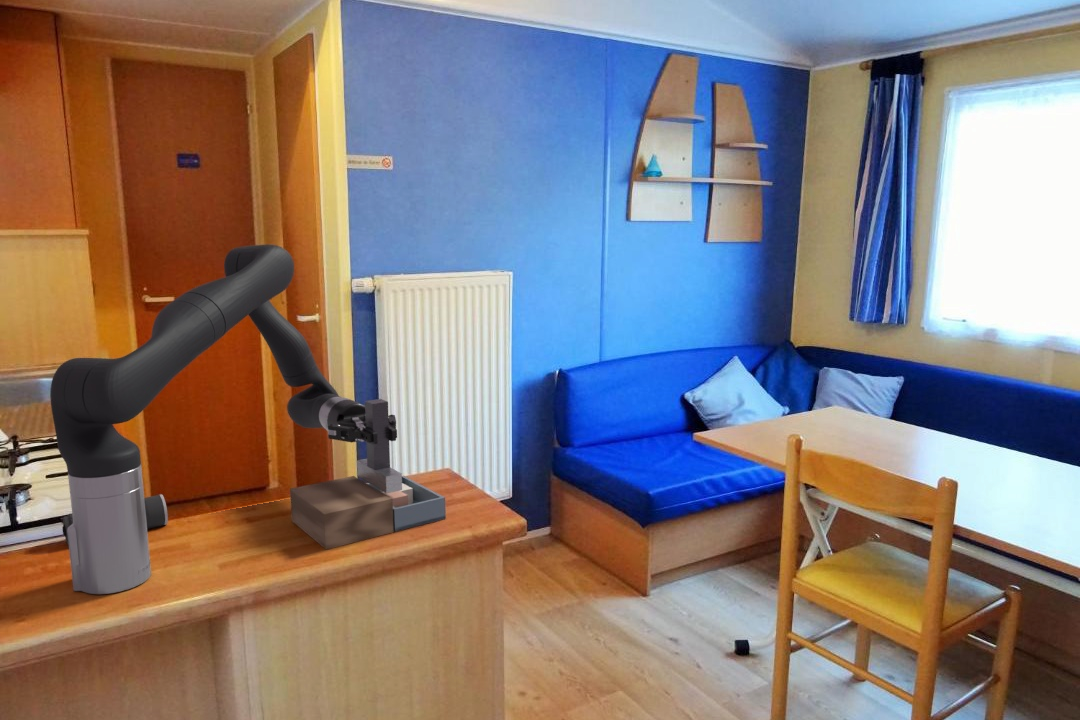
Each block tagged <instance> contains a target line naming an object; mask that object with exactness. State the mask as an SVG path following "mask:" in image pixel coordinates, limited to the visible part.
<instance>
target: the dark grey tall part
mask: <svg viewBox="0 0 1080 720" xmlns="http://www.w3.org/2000/svg"><path fill="white" fill-rule="evenodd" d="M364 405H365V418H366V428H369V429H371V430H373V431H376V432H377V441H378V442H377V444H374V445H373V444H371V443H369V442H366V441H365V443H366V458H363V459H357V460H356V475H357V478H358V477H359V479H362V481H364V482H366V483H370V484H372V485H373V486H375V487H377V488H378V489H380V490H382V491H383V492H385V493H391V492H395V491H400V490H402V476H403V473H401V472H400V471H398V470H396V469H395V468H392V467H391V458H390V457H391V454H390V451H391V450H390V440H389V418H388V416H389V401H387V400H385V399H381V398H379V399H378V398H377V399H371V400H364Z"/></svg>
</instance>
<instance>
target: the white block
mask: <svg viewBox="0 0 1080 720" xmlns="http://www.w3.org/2000/svg"><path fill="white" fill-rule="evenodd" d="M400 491H401V492H403V493H405V494H407V495H408V505H410V504H413V488H411V487H409V486H407V485H405V484H403V483H402V490H400ZM381 492H383V491H382V490H381Z"/></svg>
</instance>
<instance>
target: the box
mask: <svg viewBox="0 0 1080 720" xmlns="http://www.w3.org/2000/svg"><path fill="white" fill-rule="evenodd" d="M366 483H367V484H368V485H370V486H372V487H373V488H375V489H377V490H378V491H380V492H381V490H380V489H378V488H377V487H375V486H373V485H372V484H370V483H368V482H366ZM402 483H403V484H405V485H407V486H409V487H411V488H413V504H410V505H406V506H402V507H397V508H395V507H394V506H393V531H394V532H399V531H403V530H404V531H405V530H407V529H412V528H415V527H419V526H422V525H427V524H430V523H434V522H438V521H439V522H440V521H442V520H445V519H447V517H446V516H447V515H446V497H445V496H443V495H441V494H439V493H438V492H436V491H433V490H431V488H428V487H426V486H424V485H422V484H421V483H418V482H417V481H415V480H413V479H411V478H409V477H407V476H405V475H402Z"/></svg>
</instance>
